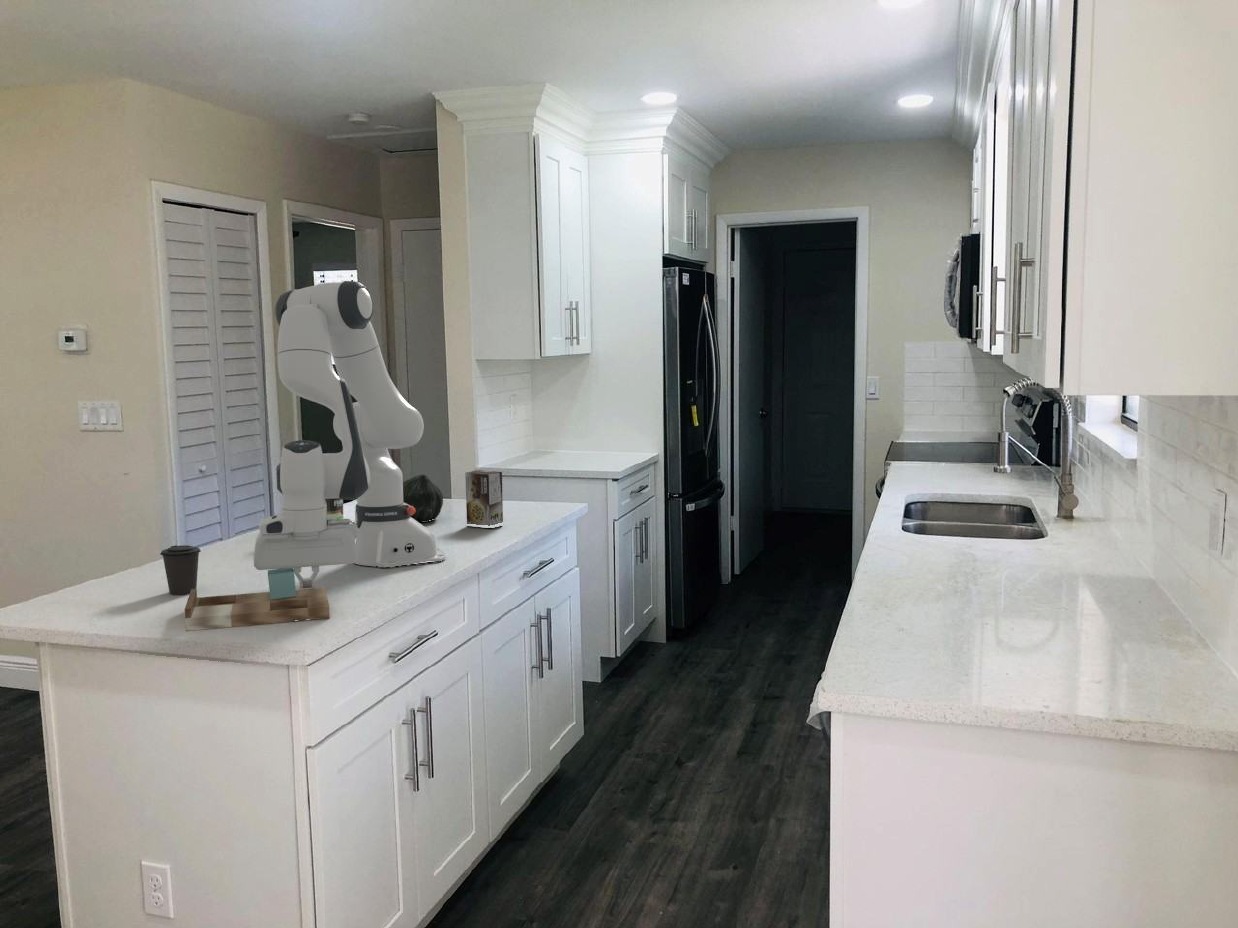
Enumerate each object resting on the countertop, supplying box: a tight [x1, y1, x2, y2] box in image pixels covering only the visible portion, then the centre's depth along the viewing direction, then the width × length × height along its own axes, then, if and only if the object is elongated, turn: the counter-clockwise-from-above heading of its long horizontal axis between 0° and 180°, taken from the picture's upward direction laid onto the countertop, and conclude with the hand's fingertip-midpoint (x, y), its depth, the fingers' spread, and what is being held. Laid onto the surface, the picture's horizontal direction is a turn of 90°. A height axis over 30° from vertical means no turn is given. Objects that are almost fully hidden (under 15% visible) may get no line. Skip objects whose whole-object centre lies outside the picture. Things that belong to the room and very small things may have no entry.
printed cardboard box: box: [464, 469, 504, 526], centre depth 295 cm, size 9×6×16 cm
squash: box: [403, 473, 444, 522], centre depth 304 cm, size 14×15×15 cm
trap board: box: [184, 587, 331, 632], centre depth 202 cm, size 26×16×4 cm, turn 109°
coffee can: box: [325, 498, 345, 527], centre depth 277 cm, size 10×10×14 cm
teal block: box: [267, 568, 297, 600], centre depth 206 cm, size 5×5×5 cm
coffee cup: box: [159, 544, 202, 596], centre depth 219 cm, size 8×8×10 cm
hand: (307, 587), depth 208 cm, fingers closed
